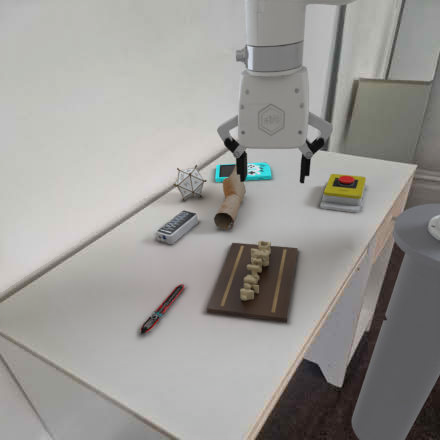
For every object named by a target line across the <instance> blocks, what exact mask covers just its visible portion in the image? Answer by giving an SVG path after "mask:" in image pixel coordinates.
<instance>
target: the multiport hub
mask: <svg viewBox="0 0 440 440" xmlns="http://www.w3.org/2000/svg"><path fill="white" fill-rule="evenodd" d="M198 216H199V215H198V213H196V212H192V211H189V210H185V209H184V210H181V211H179V213H177V214H175V216H173V217H171V219H169V220H168V221H167V222H166V223H164V224H163V225H162V226H160V227H159V228H158V229H156V230H155V236H156V240H157V241H159V242H162V243H165V244H168V245H173V244H175V243H176V242H177V241H178V240H179V239H181V238H182V237H183V236H184V235H186V234H187V233H188V232H189V231H190V230H191V229H193V228H194V227H195V226H196V225H197V224H198V223H199V217H198Z"/></svg>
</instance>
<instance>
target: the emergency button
mask: <svg viewBox="0 0 440 440" xmlns="http://www.w3.org/2000/svg"><path fill="white" fill-rule="evenodd" d="M366 182H367V178H366V177H365V176H362V175H361V176H360V175H350V174H341V173H331V174H330V175H329V177H328V181H327V183H326V185H325V188H324V190H323V194H322V199H321V201H320V205H319V207H320V208H321V209H324V210H331V211H340V212H346V213H347V212H348V213H353V214H354V213H355V214H357V213H359V212H360V211H361V207H362V202H363V199H364V198H363V197H364V193H365V189H366Z"/></svg>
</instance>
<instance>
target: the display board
mask: <svg viewBox="0 0 440 440" xmlns="http://www.w3.org/2000/svg"><path fill="white" fill-rule="evenodd" d="M251 249H259V247H258V244H253V243H243V242H231V245H230V247H229V250H228V252H227V255H226V257H225V260H224V262H223V265H222V268H221V271H220V272H219V273H220V274H219V276H218V279H217V281H216V283H215V286H214V288H213V291H212V293H211V294H212V295H211V296H210V299H209V302H208V304H207V307H206V312H207V313H210V314H217V315H225V316H234V317H240V318H241V317H242V318H250V319H255V320H256V319H258V320H266V321H274V322H282V323H288V317H289V311H290V305H291V298H292V292H293V285H294V277H295V270H296V264H297V258H298V252H299V251H298V250H299V247H292V246H290V247H289V246H280V245H279V246H278V245H271V246H270V249H271V254H270V255H269V265H268V266H263V265H262V272H261V273H259V272H257V274H258V275H259V277H260V279H259V280H258V283H257V284H255V285H259V293H254V299H250V300H246V301H245V300H241V296H240V289H243V288H244V283H247V282H244V278H245V277H246V276H247V275H252V270H248V269H247V265H248V264H249V265H252V262H251V257H252V256H251ZM262 261H263V260H262ZM263 262H264V261H263ZM250 289H251V290H253V291H254V289H253V288H250Z"/></svg>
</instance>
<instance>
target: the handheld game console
mask: <svg viewBox="0 0 440 440" xmlns="http://www.w3.org/2000/svg"><path fill="white" fill-rule="evenodd" d="M235 165H236V163H225V164H224V163H223V164H216V167H215V179H214V180H215V182H216V183H223V180H224V179H225V178H228V177H229V176H230V175H231V174H232V173H233V170H234V168H235ZM247 169H248V174H247V177H246V180H245V181H244V182H247V181H265V180H272V169H271V166H270V164H269V163H267V162H264V161H263V162H247Z"/></svg>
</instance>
